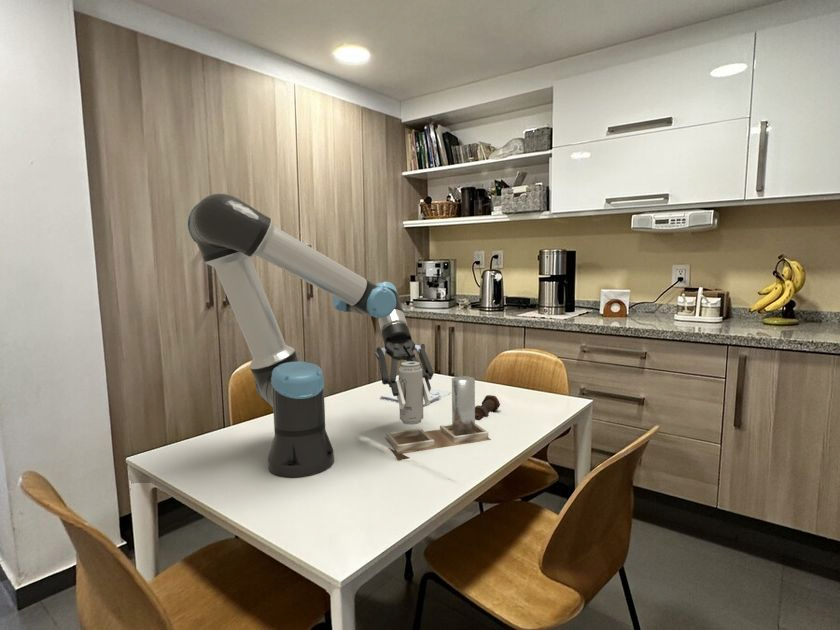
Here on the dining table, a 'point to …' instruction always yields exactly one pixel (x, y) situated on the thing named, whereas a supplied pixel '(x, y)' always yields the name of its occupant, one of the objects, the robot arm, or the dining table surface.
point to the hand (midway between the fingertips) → (415, 404)
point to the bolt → (486, 407)
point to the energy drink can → (411, 392)
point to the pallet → (430, 439)
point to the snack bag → (433, 393)
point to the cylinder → (463, 405)
